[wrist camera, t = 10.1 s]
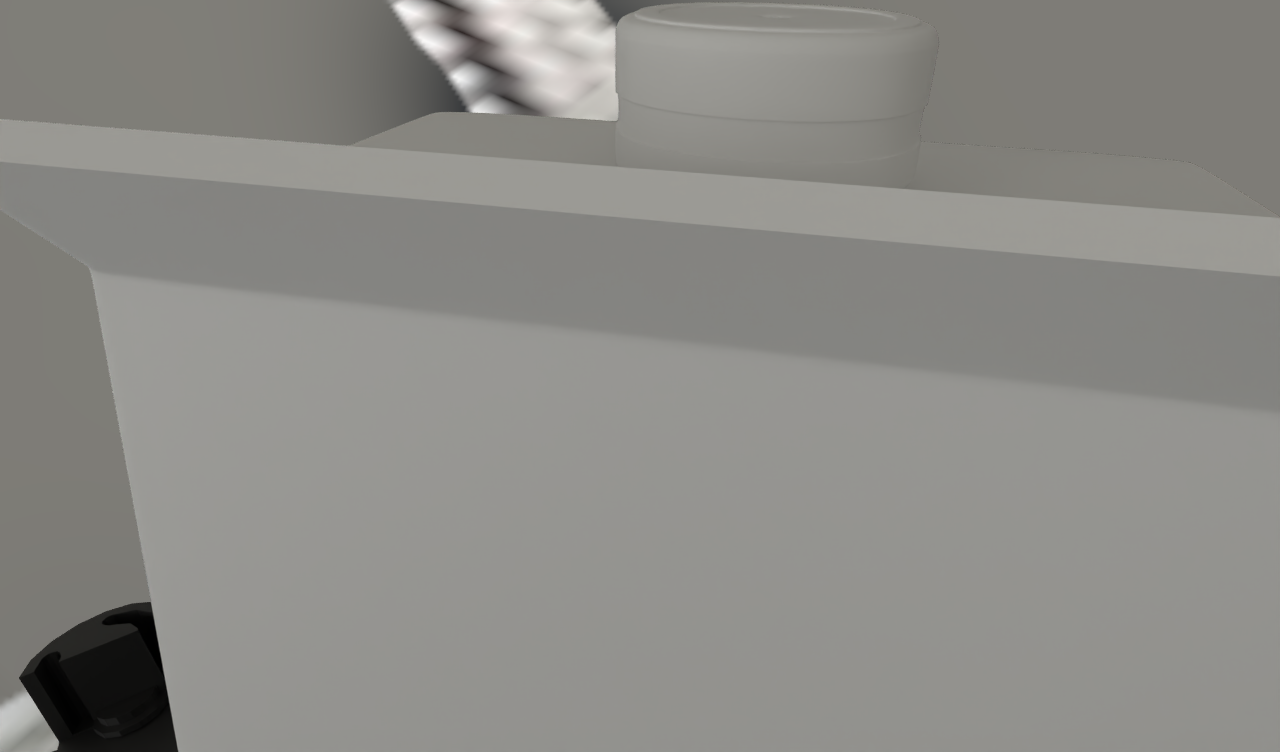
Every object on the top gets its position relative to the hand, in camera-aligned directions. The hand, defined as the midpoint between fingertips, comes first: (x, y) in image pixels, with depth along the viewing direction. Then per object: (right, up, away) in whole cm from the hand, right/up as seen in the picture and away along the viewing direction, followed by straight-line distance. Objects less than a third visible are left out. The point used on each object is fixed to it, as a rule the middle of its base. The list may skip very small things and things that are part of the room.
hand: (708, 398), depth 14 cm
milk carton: (+2, -6, +7) cm, 9 cm away
